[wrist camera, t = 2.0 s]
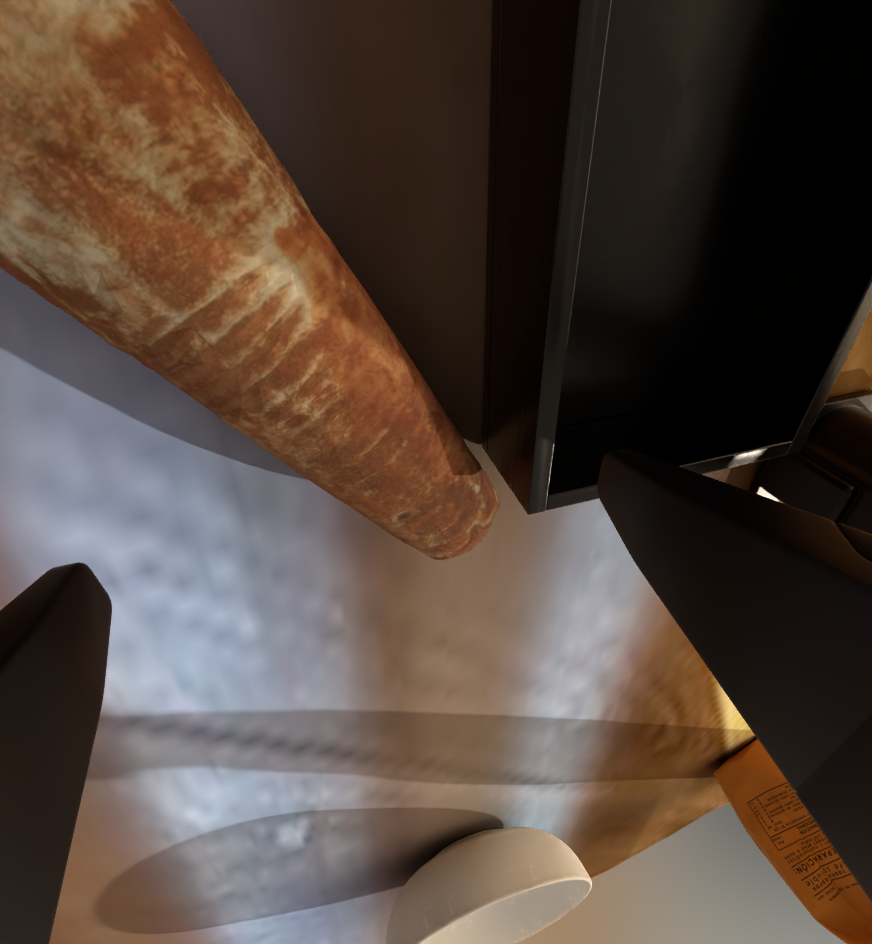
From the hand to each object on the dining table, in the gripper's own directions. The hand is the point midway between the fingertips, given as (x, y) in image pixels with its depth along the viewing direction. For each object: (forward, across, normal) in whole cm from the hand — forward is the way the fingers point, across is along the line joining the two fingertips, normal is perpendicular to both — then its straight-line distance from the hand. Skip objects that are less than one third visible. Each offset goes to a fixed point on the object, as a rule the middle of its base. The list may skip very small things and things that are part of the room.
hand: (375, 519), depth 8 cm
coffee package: (+10, -42, +61) cm, 75 cm away
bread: (+10, 0, 0) cm, 10 cm away
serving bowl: (+10, -5, +57) cm, 58 cm away
